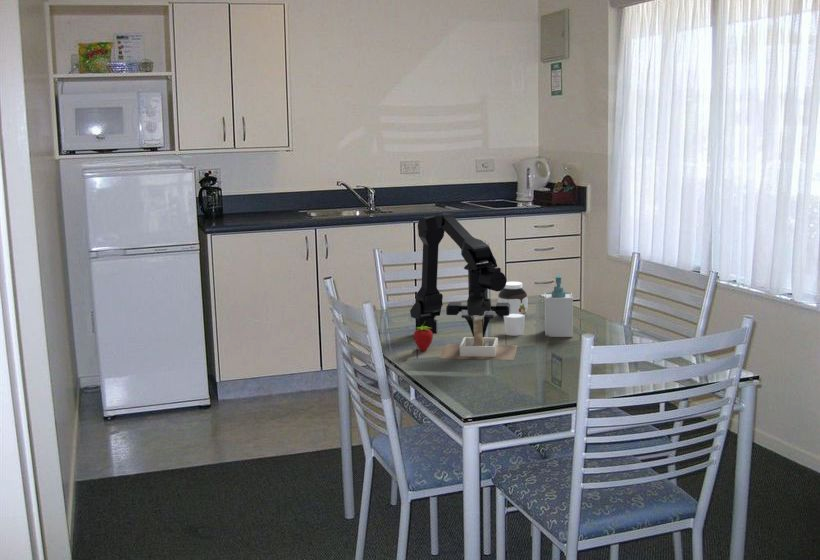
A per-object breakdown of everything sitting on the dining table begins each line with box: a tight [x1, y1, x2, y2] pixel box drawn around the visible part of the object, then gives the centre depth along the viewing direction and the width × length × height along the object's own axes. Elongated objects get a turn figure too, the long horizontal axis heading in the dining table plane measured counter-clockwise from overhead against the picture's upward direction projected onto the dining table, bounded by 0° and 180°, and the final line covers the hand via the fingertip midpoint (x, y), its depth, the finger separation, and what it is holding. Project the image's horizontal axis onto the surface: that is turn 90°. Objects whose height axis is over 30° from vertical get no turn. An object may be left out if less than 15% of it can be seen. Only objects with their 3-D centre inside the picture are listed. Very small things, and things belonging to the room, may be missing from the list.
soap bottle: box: [544, 273, 574, 338], centre depth 289 cm, size 9×9×19 cm
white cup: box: [503, 313, 526, 337], centre depth 288 cm, size 7×7×7 cm
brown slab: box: [439, 343, 518, 361], centre depth 270 cm, size 22×16×1 cm
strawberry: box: [413, 321, 434, 352], centre depth 273 cm, size 6×8×10 cm
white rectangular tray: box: [460, 336, 499, 357], centre depth 269 cm, size 10×10×3 cm
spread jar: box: [497, 281, 529, 315], centre depth 317 cm, size 12×11×12 cm
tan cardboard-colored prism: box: [473, 316, 485, 346], centre depth 268 cm, size 2×5×8 cm, turn 169°
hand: (478, 336), depth 269 cm, fingers closed on tan cardboard-colored prism, 2 cm apart
